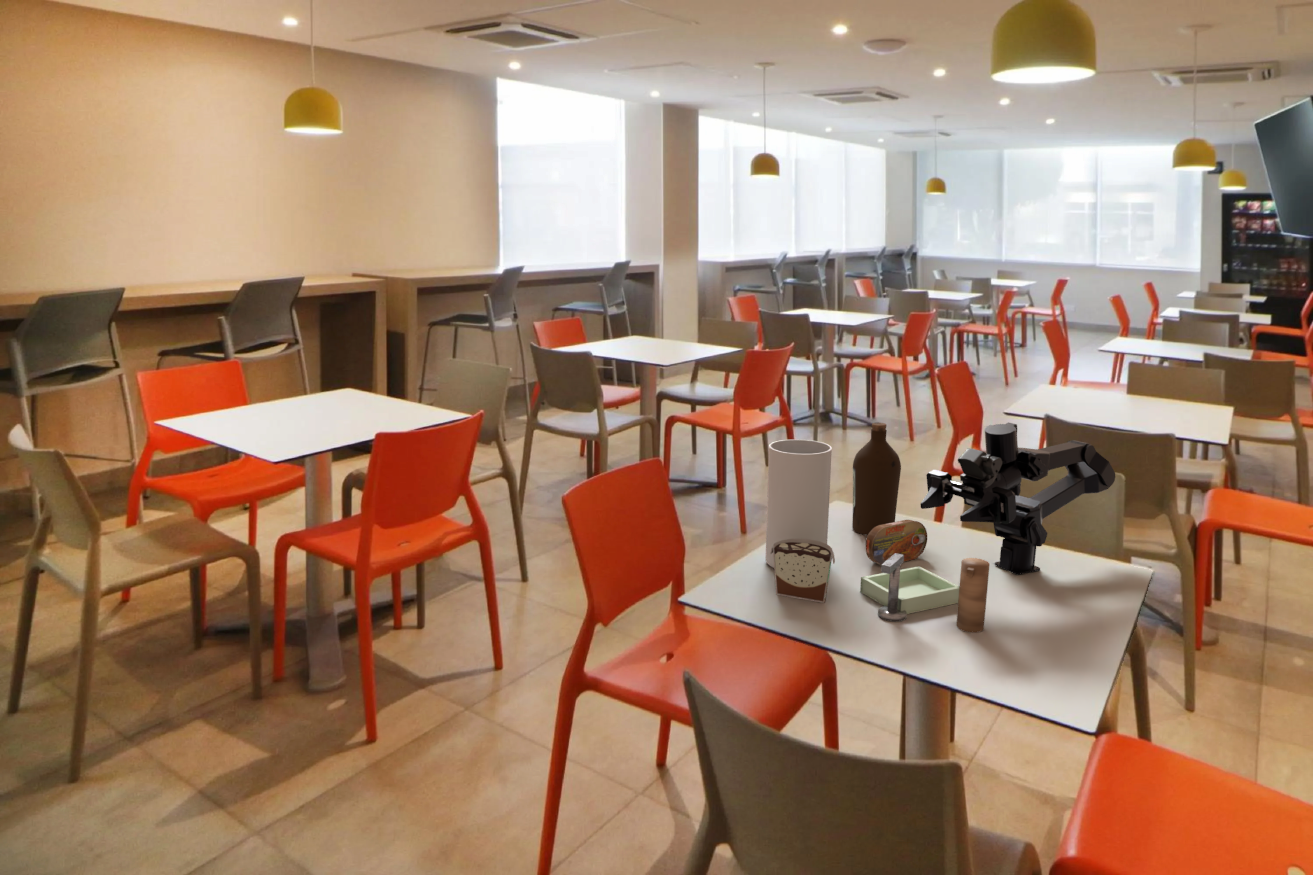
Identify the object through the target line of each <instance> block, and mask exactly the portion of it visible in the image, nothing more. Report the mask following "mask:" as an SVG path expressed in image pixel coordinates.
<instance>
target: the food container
mask: <svg viewBox="0 0 1313 875" xmlns="http://www.w3.org/2000/svg"><path fill="white" fill-rule="evenodd" d="M772 553H773V556H774V568H773V569H774V581H775V593H776V594H775V595H777V596H783V597H788V598H793V599H799V600H804V601H805V600H806V601H811V602H812V601H813V602H818V603H822V604H824V603H826V599H827V593H828V592H827V591H828V585H829V581H830V580H829V578H830V572H831V566H832V565H831V564H833V565H835V563H836V558H835V553H834V550H833V547H831V546H830V545H828V543H827V544H825V543H823V542H820V541H816V540H810V539H785V540H781V541H778V542H776V543H774V544H773V547H772V548H771V552H770V554H772Z"/></svg>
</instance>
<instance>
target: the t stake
mask: <svg viewBox="0 0 1313 875" xmlns="http://www.w3.org/2000/svg"><path fill="white" fill-rule="evenodd" d="M903 563H904V555H902V554H897V553H895V554H894V555H892V556H891V557H890V558H889V559H888V560H886V561H885V562H884V563H883V564H882V565H880V566H881V568H880V573H887V574H889V590H888V606H884V605H883V606H881V607H879V608H878V609H877V616H878V617H879V618H880V619H882V620H884V621H887V622H902V621H904V620H906V619H907V615H908V614H907V612H906V611H905V610H904V611H900V610H898V596H899V581H900V570H901V565H902V564H903Z"/></svg>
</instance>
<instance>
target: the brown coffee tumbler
mask: <svg viewBox="0 0 1313 875" xmlns="http://www.w3.org/2000/svg"><path fill="white" fill-rule="evenodd" d="M989 575H990V562H989V561H987V560H985V559H982V558H976V557H967V558H963V559H961V566H960V578H959V586H960V587H959V599H958V603H957V614H956V625H955V626H956V628H957V629H959V630H961V631H963V632H966V633H976V634H977V633H981V632H983V631H984V630H985V621H986V620H985V619H986V608H987V596H988V585H989V584H988V583H989Z"/></svg>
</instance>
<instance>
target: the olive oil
mask: <svg viewBox="0 0 1313 875" xmlns="http://www.w3.org/2000/svg"><path fill="white" fill-rule="evenodd" d="M887 433H888V432H887V424H886V423H884V422H872V424H871V428H870V440H869V441H868V442H867V443H865V445H863V447H861V448H860V449H859V450H858V451H857V453H856V454H855V456H854V458H853V461H852V524H851V525H852V530H853V531H854V532H856V533H857V534H861V535H863V536H868V534H869V533H870V531H871V530H872V529H873V528H874V527H876V526H878V525H883V524H888V523H893V522H896V514H897V505H898V504H897V503H898V494H899V487H900V479H901V472H902V471H901V470H902V463H901V459H900V457H899V454H898V453H897V452H896V450H895V449H894V448H893V447H892V446H891V445H890V444H889V442H888V441H887Z"/></svg>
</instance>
